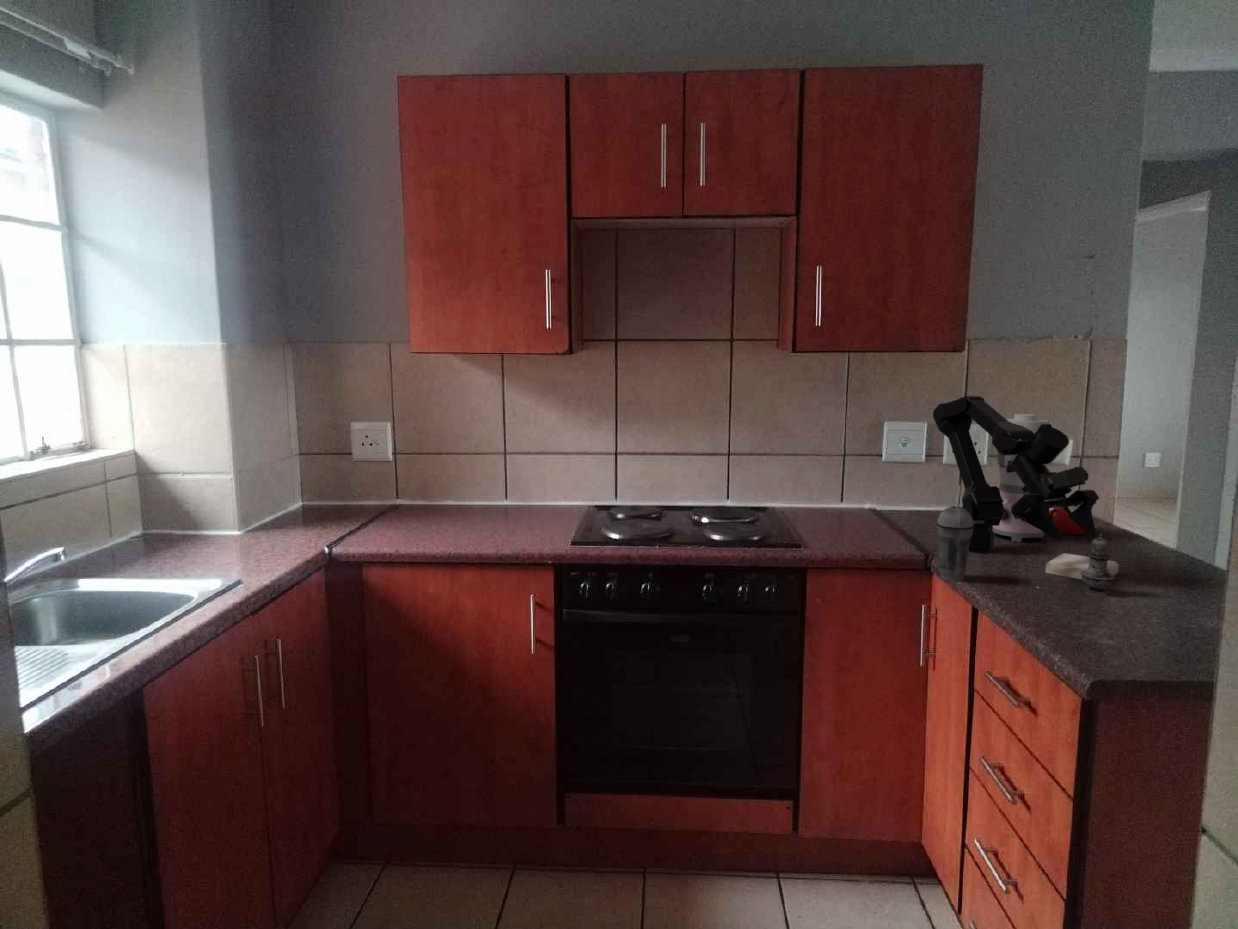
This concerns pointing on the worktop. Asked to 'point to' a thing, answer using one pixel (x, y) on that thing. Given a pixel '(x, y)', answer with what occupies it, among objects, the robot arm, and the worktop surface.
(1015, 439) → the robot arm
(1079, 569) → the wooden tray
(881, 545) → the worktop surface
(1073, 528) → the red tomato
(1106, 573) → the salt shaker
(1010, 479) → the blender
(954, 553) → the beverage cup
